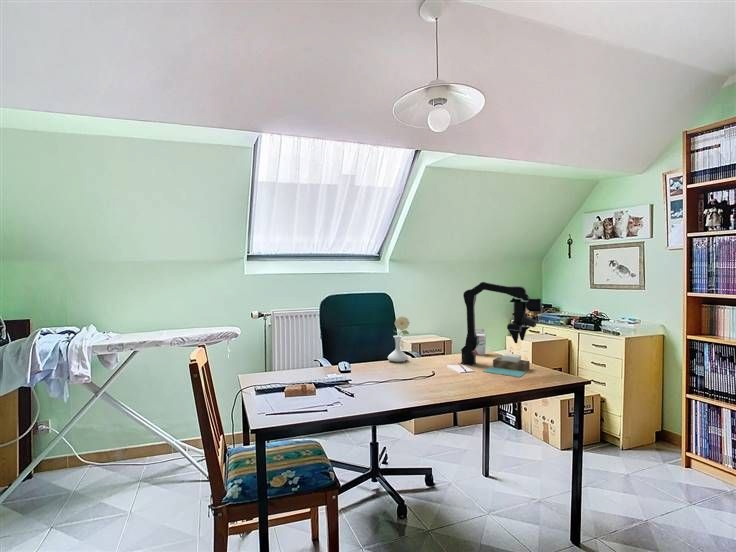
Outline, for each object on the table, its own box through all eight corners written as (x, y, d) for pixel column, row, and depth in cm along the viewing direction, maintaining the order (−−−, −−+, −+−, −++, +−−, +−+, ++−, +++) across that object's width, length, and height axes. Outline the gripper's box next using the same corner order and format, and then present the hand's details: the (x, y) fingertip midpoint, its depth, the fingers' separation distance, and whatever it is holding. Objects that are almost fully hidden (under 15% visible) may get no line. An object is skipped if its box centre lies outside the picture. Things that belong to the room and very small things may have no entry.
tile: (501, 360, 220) (501, 355, 220) (505, 358, 225) (505, 353, 225) (517, 362, 215) (517, 357, 215) (521, 360, 220) (521, 355, 220)
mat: (482, 371, 213) (482, 371, 213) (491, 367, 222) (491, 366, 222) (519, 377, 202) (519, 376, 202) (526, 372, 211) (526, 371, 211)
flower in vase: (383, 361, 236) (383, 316, 236) (393, 357, 246) (393, 314, 245) (405, 364, 230) (404, 318, 229) (414, 360, 239) (414, 315, 238)
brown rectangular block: (493, 367, 221) (493, 359, 221) (498, 364, 228) (498, 357, 227) (524, 372, 212) (524, 364, 211) (529, 368, 218) (529, 360, 218)
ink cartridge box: (470, 355, 251) (470, 329, 251) (469, 353, 256) (469, 328, 256) (485, 355, 250) (485, 330, 250) (484, 353, 255) (484, 328, 255)
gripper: (529, 314, 206) (529, 346, 207) (541, 310, 221) (541, 340, 221) (506, 312, 213) (506, 343, 214) (519, 309, 228) (519, 338, 228)
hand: (519, 341), depth 219 cm, fingers open, 9 cm apart
